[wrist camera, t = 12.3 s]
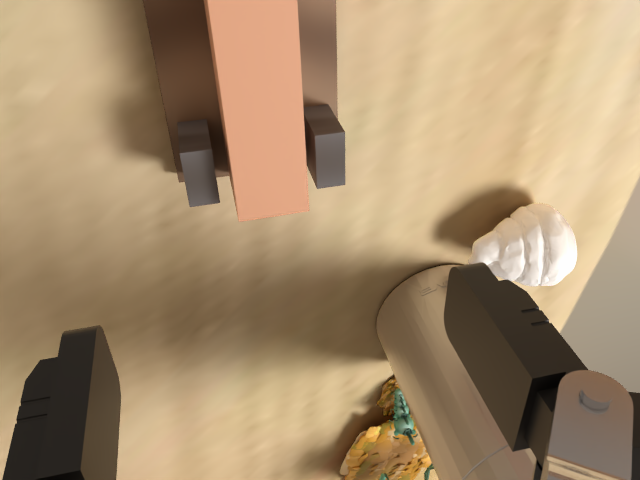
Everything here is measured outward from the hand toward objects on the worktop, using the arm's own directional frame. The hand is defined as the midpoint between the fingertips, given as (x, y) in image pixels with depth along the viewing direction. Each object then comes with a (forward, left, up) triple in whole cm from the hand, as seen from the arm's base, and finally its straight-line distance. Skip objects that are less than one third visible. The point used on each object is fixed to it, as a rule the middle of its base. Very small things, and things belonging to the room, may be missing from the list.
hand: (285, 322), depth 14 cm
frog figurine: (-36, -11, -21) cm, 43 cm away
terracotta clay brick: (+1, -2, -19) cm, 19 cm away
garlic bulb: (-14, -18, -21) cm, 30 cm away
